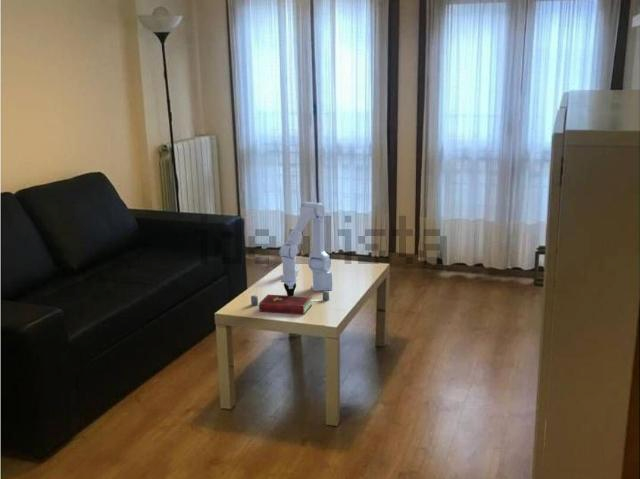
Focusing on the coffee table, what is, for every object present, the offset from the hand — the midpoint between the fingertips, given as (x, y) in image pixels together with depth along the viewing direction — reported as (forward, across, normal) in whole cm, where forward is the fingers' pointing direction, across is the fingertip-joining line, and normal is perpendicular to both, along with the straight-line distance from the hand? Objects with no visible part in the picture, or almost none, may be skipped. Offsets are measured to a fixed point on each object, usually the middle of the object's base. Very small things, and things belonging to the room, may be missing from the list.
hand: (290, 298), depth 301 cm
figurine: (+2, -41, +4) cm, 41 cm away
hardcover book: (+2, +7, -3) cm, 8 cm away
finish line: (+2, -1, 0) cm, 2 cm away
